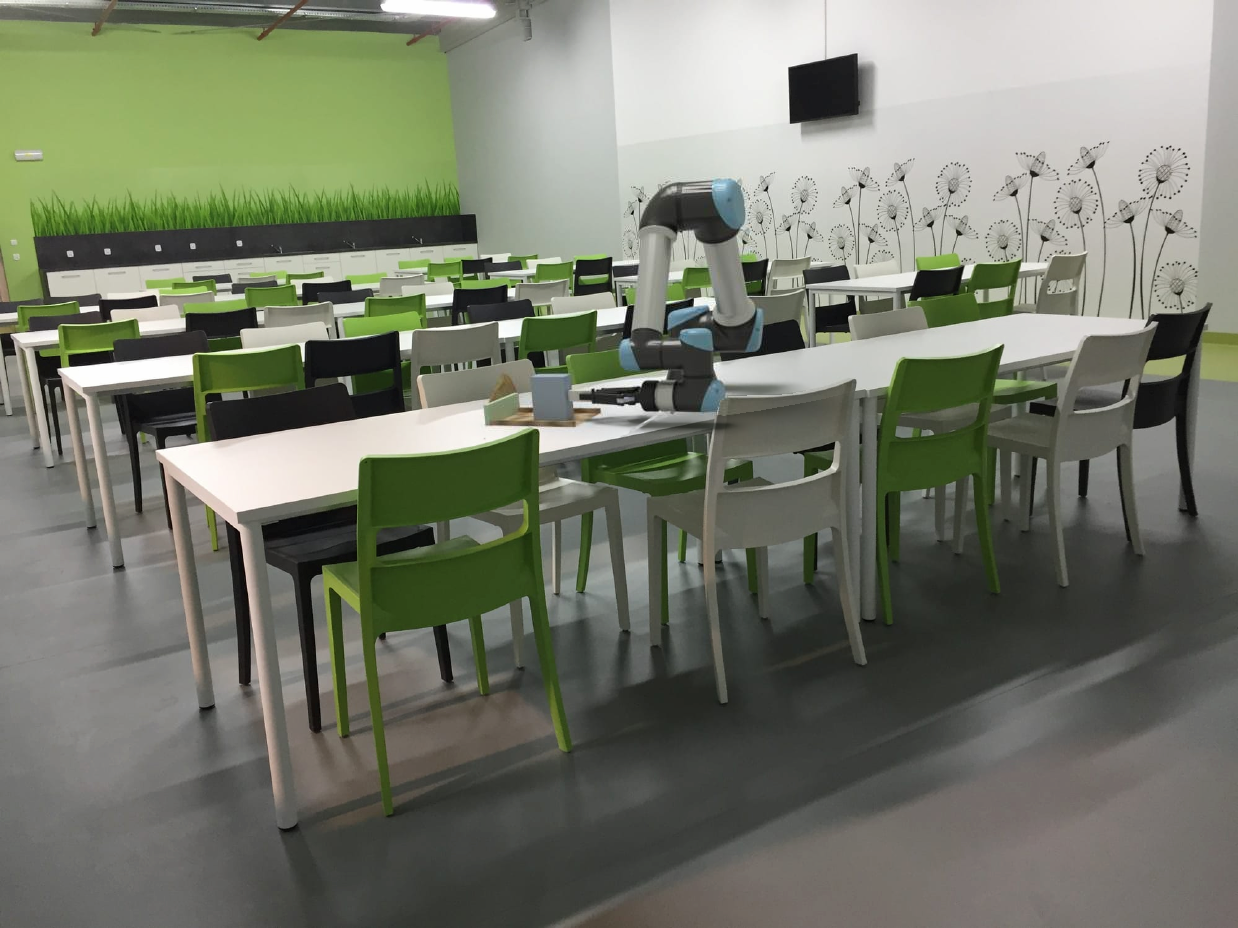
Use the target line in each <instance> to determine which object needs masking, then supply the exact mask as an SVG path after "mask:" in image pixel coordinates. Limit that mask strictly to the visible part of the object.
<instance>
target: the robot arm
mask: <svg viewBox="0 0 1238 928" xmlns="http://www.w3.org/2000/svg"><path fill="white" fill-rule="evenodd" d="M642 212H643V213H642V214H641V217H640V220H639V223H638V224H639V225H638V232H637V236H638V239H639V240H640V241H641V242H640V244H641V245H640V251H639V260H638V261H639V262H638V270H637V278H636V280H637V281H636V288H635V296H634V306H633V314H632V324H631V335H630V338H629V337H628V338H626V339H625V338H624V339H623V340H621V342H620V344H619V347H618V360H619V364H620V367H622V369H623V370H625V371H632V372H633V371H635V372H643V371H647V372H648V371H667V374H666V377H665V379H661V380H656V379H655V380H654V379H652V380H651V379H647V380H644V381H642V383H641V386H640V385H636V386H627V387H625V386H622V387H620V386H619V387H601V388H598V389H596V388H590V389H572V390H569V391H568V399H569V402H573V403H574V402H576V403H577V402H578V403H579V402H580V403H581V402H582V403H585V402H586V403H587V402H589V403H591V404H593V405H607V406H608V405H609V406H619V407H625V405H628V406H636V404H640V407H641V409H642V410H643V412H646V413H647V412H649V413H653V412H654V413H656V412H657V413H658V412H659V411H660V412H661V413H662V412H664V413H665V412H667V413H668V412H669V413H670V414H671V415H674V414H675V412H676V413H701V414H703V413H714V412H715V413H717V410H718V407H719V403H720V401H721V400H722V399H724V398H725V399H726V389H725V384H724V382H723V381H722V380H719V379H718V377H717V374H716V371H715V369H714V353H750V352H752V353H753V352H756V351H758V350H759V349H760V347H761V344H762V339H763V331H764V329H763V328H764V310H763V309H762V308H759V307H757V308H756V304H755V303H754V301H753V300H752V299H750V298H749V297H748V292H747V287H746V281H745V276H744V270H743V265H742V260H741V259H742V258H741V254H740V248H739V244H738V237H737V235H738V234H740V231H741V230H742V229H741V228H743V226H744V225H745V221H746V206H745V198H744V194H743V191H742V188H741V186H740V184H739V183H738V182H737V181H735V180H734V179H731V178H726V179H725V178H724V179H722V178H716V179H713V180H696V181H694V180H693V181H683V182H682V181H678V182H672V183H669V184H667V185H665V186H664V187H662V188H660V189H659V190H658V191H657V192H656V193H655V194H654V195H653V196H652V197H651V198H650V200H649V201H648V203H647V204H646V207H645V208H644V210H643V211H642ZM685 231H687V232H690V231H693V233H694V237H695V239H696V240H697V241H698V242H699V243H701V244H702V246H703V251H704V254H705V260H706V264H707V269H708V273H709V278H710V283H711V288H712V293H713V295H714V301H715V305H714V307H713V309H711V308H710V306H709V305H707V304H704V305H697V306H689V307H686V308H681V309H677V310H673V311H671V312H670V313H669V314H668V316H667V334H668V335H667V336H668V337H663V335H664V327H665V317H666V306H667V296H668V289H669V288H668V286H669V279H670V278H669V277H670V269H671V268H670V267H671V257H672V247H673V244H675V243H676V242H677V240H678V233H679V232H685Z"/></svg>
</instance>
